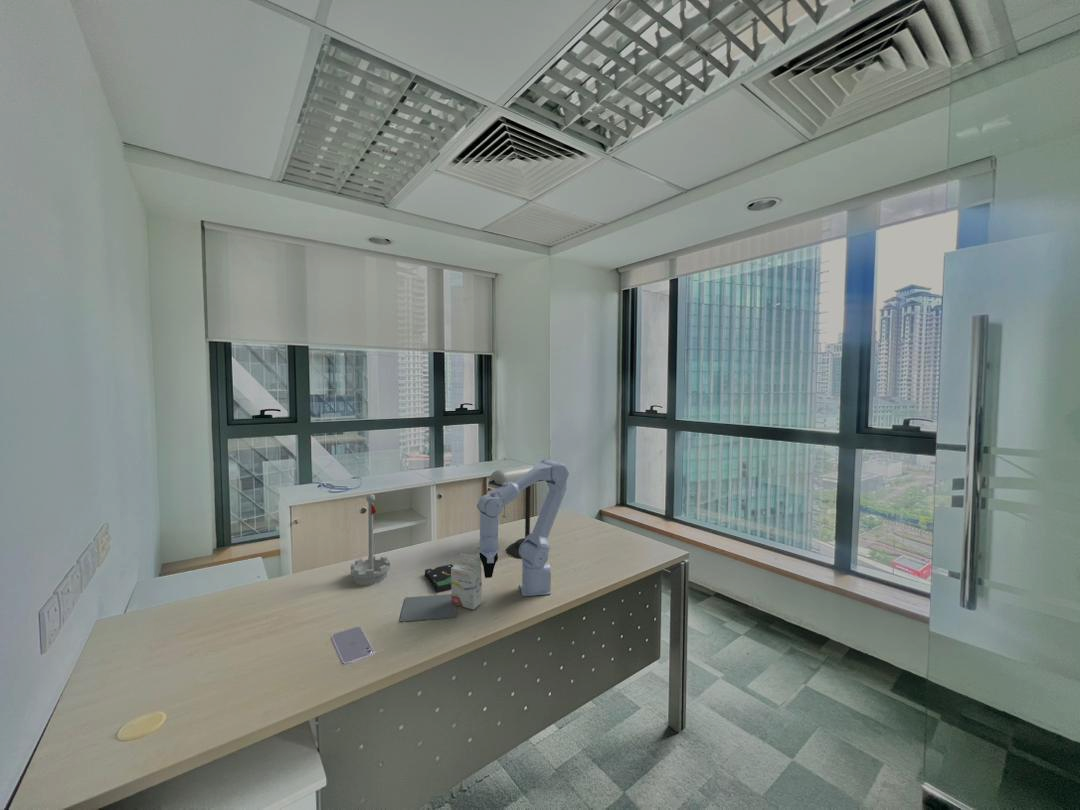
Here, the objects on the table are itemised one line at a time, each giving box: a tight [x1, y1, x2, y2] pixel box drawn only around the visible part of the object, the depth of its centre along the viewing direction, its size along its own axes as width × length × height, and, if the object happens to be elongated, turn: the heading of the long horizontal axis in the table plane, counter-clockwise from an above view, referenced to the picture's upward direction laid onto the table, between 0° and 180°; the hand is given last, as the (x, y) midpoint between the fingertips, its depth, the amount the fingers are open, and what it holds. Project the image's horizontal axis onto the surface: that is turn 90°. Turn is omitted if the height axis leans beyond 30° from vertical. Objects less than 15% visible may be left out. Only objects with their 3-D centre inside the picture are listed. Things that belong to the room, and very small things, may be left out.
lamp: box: [487, 464, 545, 559], centre depth 179 cm, size 26×24×34 cm
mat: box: [399, 593, 457, 623], centre depth 131 cm, size 16×14×1 cm
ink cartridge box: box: [451, 552, 483, 610], centre depth 133 cm, size 9×5×15 cm, turn 65°
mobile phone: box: [331, 626, 375, 664], centre depth 112 cm, size 8×1×15 cm
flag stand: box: [350, 493, 391, 586], centre depth 150 cm, size 13×13×30 cm
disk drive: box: [424, 563, 454, 593], centre depth 150 cm, size 10×3×15 cm
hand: (488, 576), depth 134 cm, fingers closed
